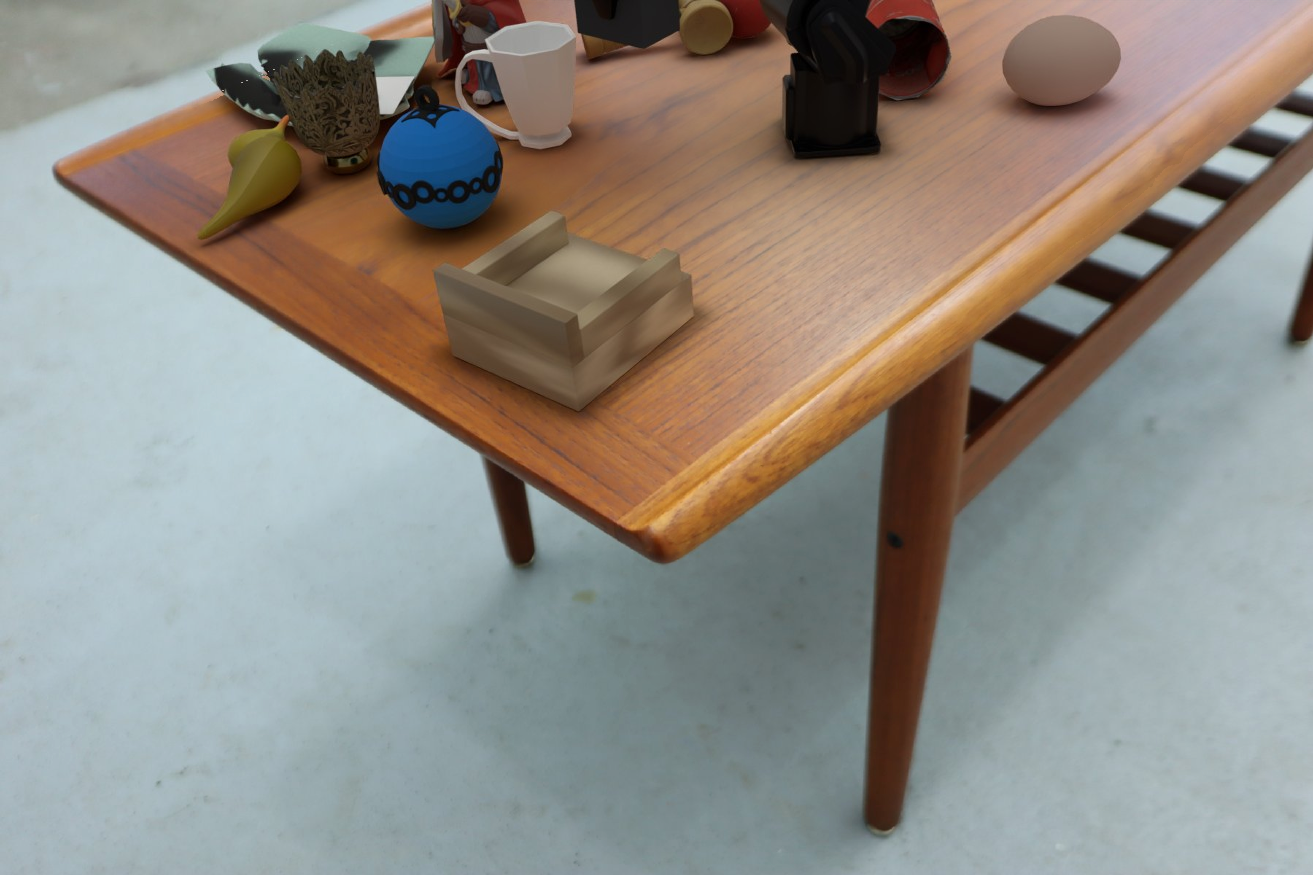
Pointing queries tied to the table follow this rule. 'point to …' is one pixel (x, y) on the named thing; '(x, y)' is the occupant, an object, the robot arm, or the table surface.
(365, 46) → the cloth
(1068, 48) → the egg
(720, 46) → the kendama
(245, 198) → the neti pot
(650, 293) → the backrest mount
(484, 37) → the figurine
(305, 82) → the cup
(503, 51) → the cup
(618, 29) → the black rectangular block
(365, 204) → the table surface
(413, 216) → the ornament
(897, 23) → the beverage can
